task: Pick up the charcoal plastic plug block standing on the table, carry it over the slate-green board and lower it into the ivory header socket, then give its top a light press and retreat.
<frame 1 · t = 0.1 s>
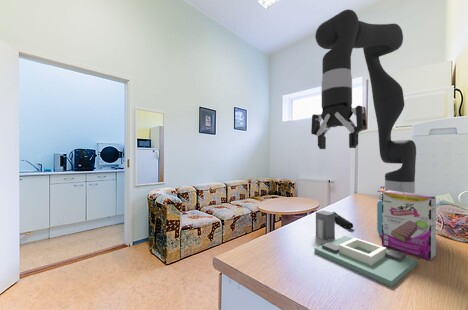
hand: (336, 148, 56), 29 cm above the worktop, tool pointing down, fingers open, 8 cm apart
plug: (325, 236, 68), on the worktop
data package: (400, 240, 66), on the worktop
board: (363, 258, 54), on the worktop
candy bar box: (407, 251, 58), on the worktop
electric trimmer: (340, 224, 82), on the worktop
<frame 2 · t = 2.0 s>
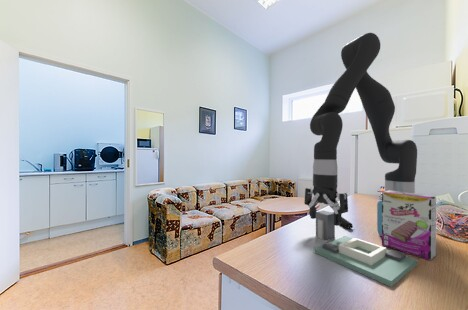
hand: (324, 221, 68), 5 cm above the worktop, tool pointing down, fingers open, 8 cm apart
nothing on the worktop moved.
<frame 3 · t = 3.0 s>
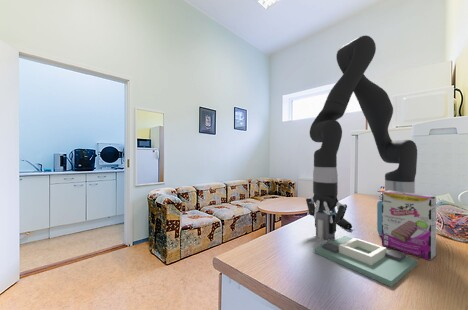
hand: (325, 231, 68), 2 cm above the worktop, tool pointing down, fingers closed on plug, 4 cm apart
plug: (325, 236, 68), on the worktop, touching gripper
everything else where it was.
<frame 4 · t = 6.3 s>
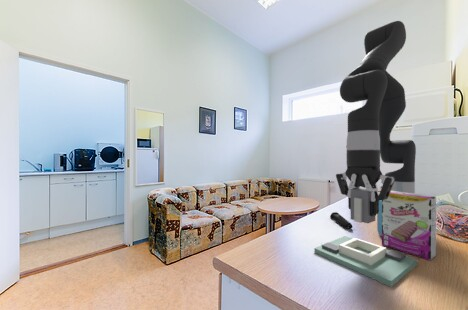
hand: (362, 213, 54), 12 cm above the worktop, tool pointing down, fingers closed on plug, 4 cm apart
plug: (362, 219, 54), point 10 cm above the worktop, touching gripper
everything else where it was.
when the fingers open (4 cm above the worktop, at t = 8.3 s): plug drops 1 cm, resting on board.
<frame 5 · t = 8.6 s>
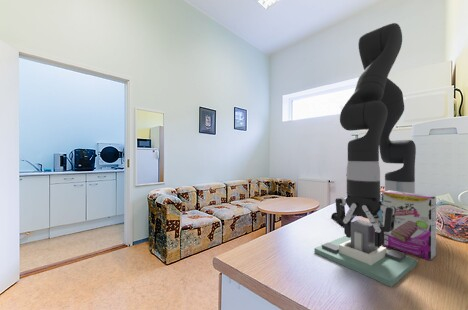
hand: (362, 241, 54), 4 cm above the worktop, tool pointing down, fingers open, 6 cm apart
plug: (363, 253, 54), point 1 cm above the worktop, touching board
everything else where it was.
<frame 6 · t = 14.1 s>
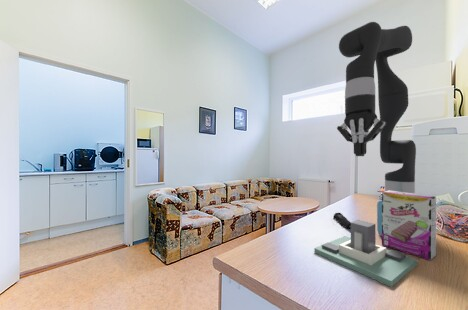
hand: (359, 156, 59), 27 cm above the worktop, tool pointing down, fingers closed
at the end: plug 0.0 cm off-centre on the board, point 1.2 cm above the board's base; plug tilted 0°; the gripper is holding nothing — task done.
